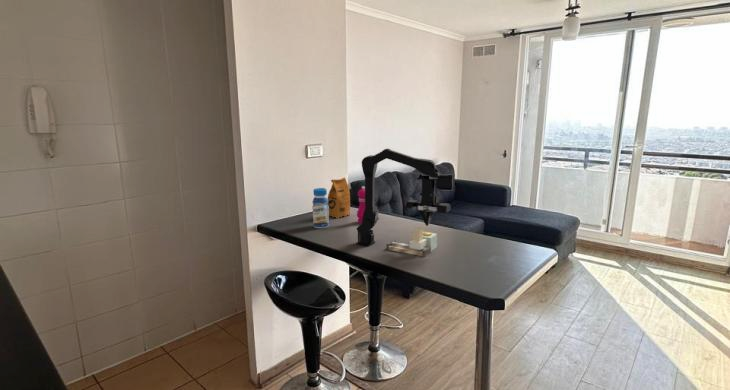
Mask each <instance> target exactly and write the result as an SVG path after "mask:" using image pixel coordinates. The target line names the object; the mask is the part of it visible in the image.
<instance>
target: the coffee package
mask: <svg viewBox="0 0 730 390" xmlns="http://www.w3.org/2000/svg"><path fill="white" fill-rule="evenodd" d="M330 181H331V183H332V184H331V187H330V189H329V192H328V193H327V194H328V195H327V199H328V206H329V209H328V210H329V216H332V217H337V218H336V219H339V218H338V217H341V218H343V217H342V216H346V217H348V216H350V215H351V197H350V196H351V192H350V187H349V185H348V181H347V179H346V177H342V178H340V179H331V180H330ZM349 214H350V215H349ZM347 215H348V216H347ZM332 217H331V218H332Z"/></svg>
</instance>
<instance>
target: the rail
mask: <svg viewBox="0 0 730 390" xmlns="http://www.w3.org/2000/svg"><path fill="white" fill-rule="evenodd" d="M386 250H387V251H394V252H398V253H404V254H409V255H415V256H419V257H425V258H426V256H428V255H430V254H431V253H432V251H431V247H429V246H428V247H427V248H425V247H424V248H423V249H421V250H419V249H413V248H410V244H408V243H402V242H397V241H396V240H395V239H393V240H390V241H389V242H387V243H386Z"/></svg>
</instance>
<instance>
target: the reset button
mask: <svg viewBox="0 0 730 390" xmlns="http://www.w3.org/2000/svg"><path fill="white" fill-rule="evenodd" d="M423 232H424V233H423V236H430V235H431V233H432V232H429V231H423ZM428 232H429V233H428Z"/></svg>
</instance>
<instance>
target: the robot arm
mask: <svg viewBox="0 0 730 390" xmlns="http://www.w3.org/2000/svg"><path fill="white" fill-rule="evenodd" d="M386 159H387V160H390V161H393V162H396V163H399V164H403V165H405V166H408V167H411V168H414V169H415V170H417V171H418V172H420V174H419V175H418V176H417V177H416V180H420V185H421V186H420V192H419V196H420V201H419V200H417V199H416V200H415V199H409V200H407V201H405V205H404V208H405V209H413V208H415V207H416V208H417V212H418V213H419V214H420V215H421V218H422V220H423V222H424V225H425V226H426V227H427V226H429V225H430V222H431V220H432V217H433V215H434V213H436V212H438V213H442V214H447V213H448V212H450V211H451V204H450V203H446V202H444V203H443V202H442V203H441V202H440V200H441V199H440V198H441V197H440V196H439V195H437V192H436V189H438V191H448V192H449V191H453V187H454V186H453V185H454V181H453V174H452V173H451V174H450V173H449V174H441V173H440V172H439V171H438V169H437V168H436V167H437V166H436V163H435V161H433V160H431V159H428V158H417V157H413V156H411V155H408V154H404V153H401V152H398V151H395V150H393V149H390V148H384V149H383V150H382V151H379V152H378V153H376V154H374V155H371V154H370V155H367V156H365V157H363V158H362V160H361V168H362V173H363V176H364V187H365V210H364V213H363V217H362V223H361V224H360V223H359V225H358V226H357V227H356V231H357V242H355V244H356V245H361V246H363V247H365V246H366V247H369V246H371V245H372V244H374V243H375V244H376V241H375V233H374V230H372V229H373V228H374V227H375V225H377V223H378V221H379V214H380V213H379V212H380V211H379V210H376V207H375V176H376V172H377V169H378V164H379V163H380V162H383V161H385V160H386Z"/></svg>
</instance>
